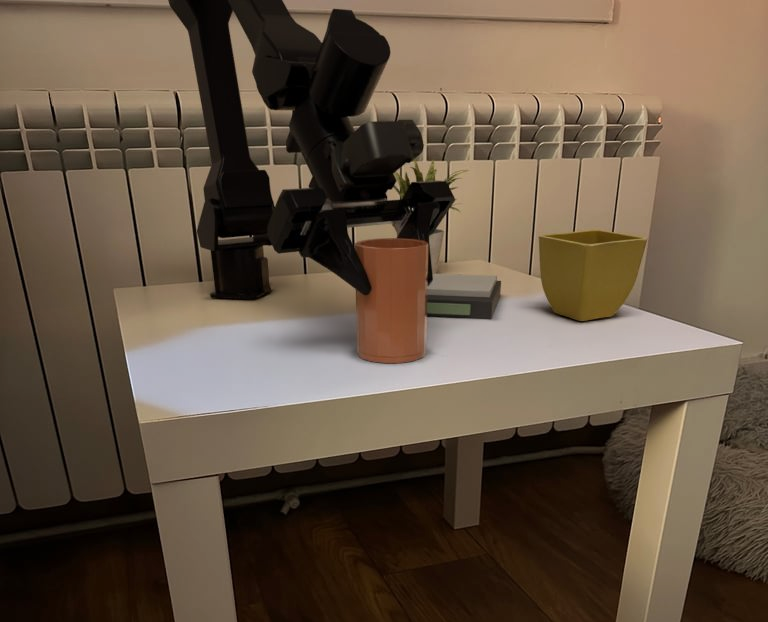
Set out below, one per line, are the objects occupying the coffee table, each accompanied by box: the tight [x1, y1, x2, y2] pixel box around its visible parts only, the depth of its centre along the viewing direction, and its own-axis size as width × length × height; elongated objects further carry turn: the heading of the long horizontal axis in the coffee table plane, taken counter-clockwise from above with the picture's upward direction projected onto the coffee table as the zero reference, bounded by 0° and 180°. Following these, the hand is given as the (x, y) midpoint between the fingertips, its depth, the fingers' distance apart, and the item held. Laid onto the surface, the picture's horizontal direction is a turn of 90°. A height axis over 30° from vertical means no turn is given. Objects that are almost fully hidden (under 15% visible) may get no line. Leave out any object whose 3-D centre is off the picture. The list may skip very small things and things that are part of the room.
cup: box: [354, 237, 428, 364], centre depth 70 cm, size 7×7×10 cm
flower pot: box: [538, 229, 648, 322], centre depth 84 cm, size 9×9×9 cm
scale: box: [427, 273, 502, 320], centre depth 91 cm, size 11×13×3 cm
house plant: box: [393, 158, 470, 274], centre depth 106 cm, size 14×14×16 cm
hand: (399, 288), depth 69 cm, fingers closed on cup, 7 cm apart
